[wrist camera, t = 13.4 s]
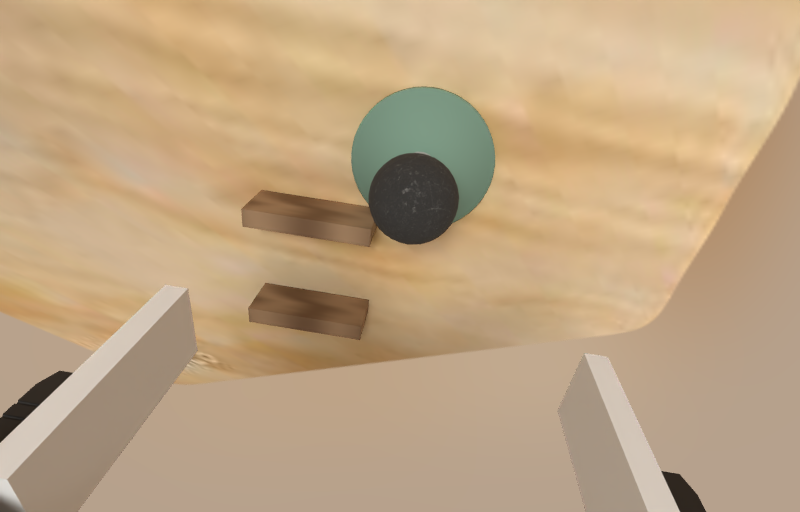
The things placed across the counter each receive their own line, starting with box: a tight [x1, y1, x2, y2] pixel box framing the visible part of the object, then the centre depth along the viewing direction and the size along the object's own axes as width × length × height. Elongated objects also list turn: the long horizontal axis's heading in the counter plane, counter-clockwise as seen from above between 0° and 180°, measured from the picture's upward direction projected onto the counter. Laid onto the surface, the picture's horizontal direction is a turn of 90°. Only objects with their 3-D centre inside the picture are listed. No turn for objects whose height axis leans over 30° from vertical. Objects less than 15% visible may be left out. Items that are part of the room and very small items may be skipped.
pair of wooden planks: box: [241, 190, 377, 340], centre depth 37 cm, size 10×11×4 cm
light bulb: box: [368, 152, 459, 244], centre depth 28 cm, size 6×6×10 cm
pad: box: [351, 87, 495, 223], centre depth 33 cm, size 11×11×1 cm
